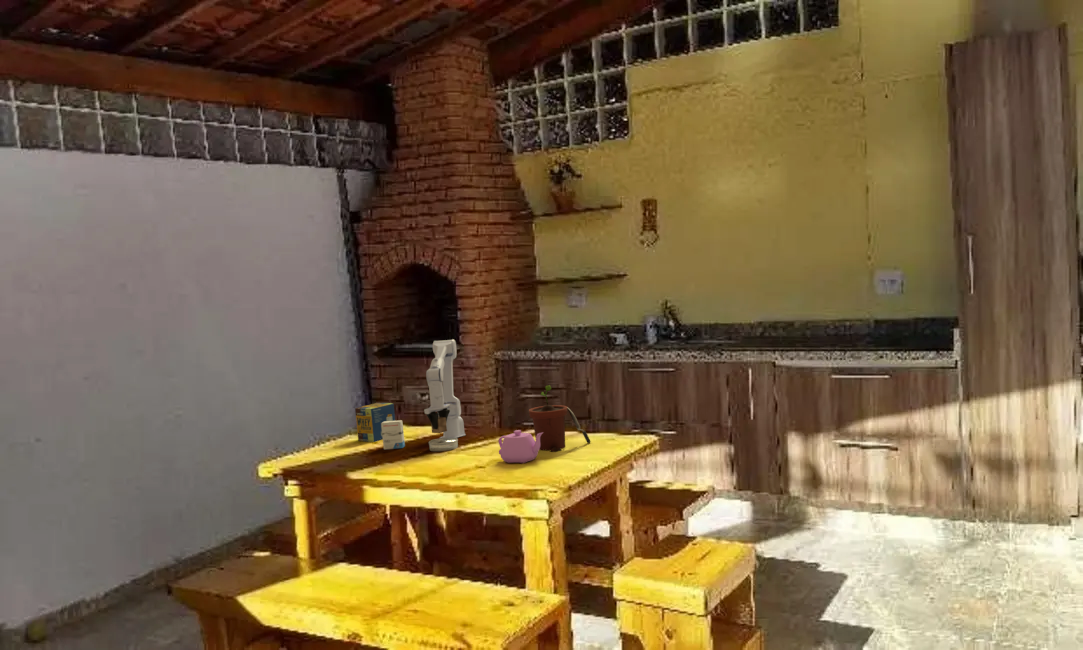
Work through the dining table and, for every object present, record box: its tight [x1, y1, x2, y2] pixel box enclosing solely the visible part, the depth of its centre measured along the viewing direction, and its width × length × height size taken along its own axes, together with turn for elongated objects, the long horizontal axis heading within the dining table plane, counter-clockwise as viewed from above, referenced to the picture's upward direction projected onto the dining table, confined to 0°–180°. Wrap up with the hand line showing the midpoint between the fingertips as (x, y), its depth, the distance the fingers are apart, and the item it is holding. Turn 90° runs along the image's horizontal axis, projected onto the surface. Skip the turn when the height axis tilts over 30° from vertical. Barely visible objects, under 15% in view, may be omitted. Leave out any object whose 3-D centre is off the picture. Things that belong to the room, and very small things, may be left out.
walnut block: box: [430, 416, 447, 434], centre depth 378 cm, size 4×4×6 cm
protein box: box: [354, 402, 396, 443], centre depth 413 cm, size 10×15×16 cm
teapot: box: [498, 429, 544, 464], centre depth 339 cm, size 20×13×12 cm, turn 65°
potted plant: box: [528, 384, 592, 453], centre depth 359 cm, size 18×22×25 cm
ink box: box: [381, 419, 406, 450], centre depth 386 cm, size 8×5×12 cm, turn 84°
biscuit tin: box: [428, 437, 459, 452], centre depth 377 cm, size 12×12×4 cm
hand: (439, 427), depth 378 cm, fingers closed on walnut block, 4 cm apart
